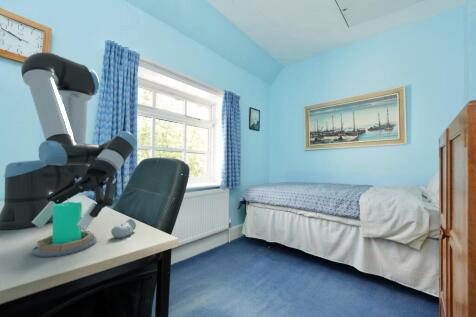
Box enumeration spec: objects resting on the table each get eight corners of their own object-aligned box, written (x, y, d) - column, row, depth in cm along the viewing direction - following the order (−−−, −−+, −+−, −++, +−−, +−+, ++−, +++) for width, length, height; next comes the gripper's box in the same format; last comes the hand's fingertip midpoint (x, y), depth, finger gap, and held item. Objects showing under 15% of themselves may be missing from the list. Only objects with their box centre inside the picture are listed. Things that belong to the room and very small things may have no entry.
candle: (68, 247, 53) (69, 200, 53) (45, 247, 53) (46, 200, 53) (86, 239, 59) (87, 196, 59) (65, 239, 59) (66, 196, 59)
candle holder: (29, 247, 55) (29, 238, 55) (88, 234, 65) (88, 227, 65) (37, 262, 46) (37, 252, 46) (103, 245, 56) (103, 236, 56)
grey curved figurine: (120, 244, 60) (106, 237, 62) (139, 234, 68) (127, 228, 69) (124, 230, 60) (110, 223, 61) (143, 222, 68) (130, 216, 69)
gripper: (145, 174, 69) (109, 236, 54) (80, 173, 73) (30, 230, 58) (134, 158, 64) (91, 221, 49) (65, 158, 68) (6, 216, 53)
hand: (58, 226), depth 53 cm, fingers open, 13 cm apart
